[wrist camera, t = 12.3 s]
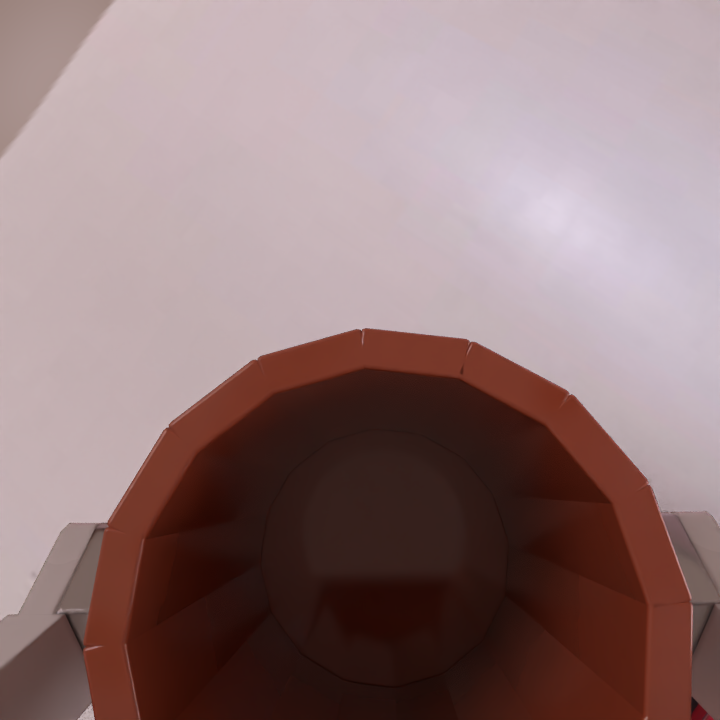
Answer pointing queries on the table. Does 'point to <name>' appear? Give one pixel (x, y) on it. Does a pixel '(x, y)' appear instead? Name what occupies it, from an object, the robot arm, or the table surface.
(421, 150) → the table surface
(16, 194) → the table surface
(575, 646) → the cup
